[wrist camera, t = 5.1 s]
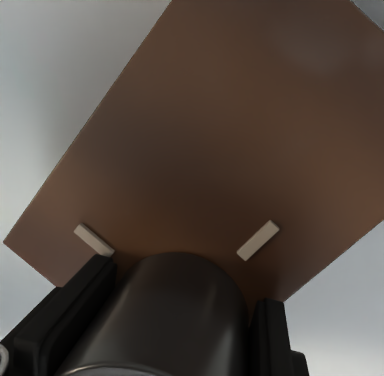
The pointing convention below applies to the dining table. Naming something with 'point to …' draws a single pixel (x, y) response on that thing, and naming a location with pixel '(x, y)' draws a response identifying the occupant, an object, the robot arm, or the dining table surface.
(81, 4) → the dining table surface
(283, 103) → the console
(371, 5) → the dining table surface
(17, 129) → the dining table surface
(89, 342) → the dial
